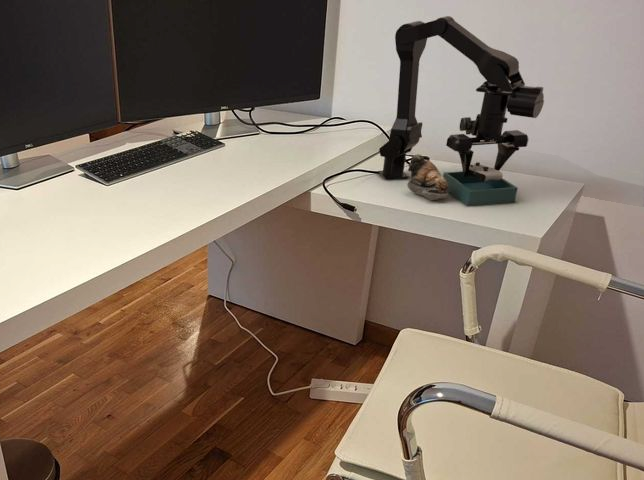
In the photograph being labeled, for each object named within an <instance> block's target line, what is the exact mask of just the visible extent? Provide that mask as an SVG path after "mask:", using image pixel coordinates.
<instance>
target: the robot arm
mask: <svg viewBox="0 0 644 480" xmlns="http://www.w3.org/2000/svg"><path fill="white" fill-rule="evenodd" d="M436 36H437V37H440V38H441V39H443V40H444V41H445V42H446V43H448V44H449V45H450V46H451V47H452V48H454V49H456V51H458V52H459V53H461V54H462V55H463V56H465V58H467V59H469V60H470V61H471V62H472V63H473V64H474V65H475V66H476V68H477V70H478V72H479V74H480V75H481V76H482V77H483V79H485V81H483V83H482V84H481V85H480V86H479V87H476V89H475V91H476V92H478V93H484V94H483V97H482V98H483V99H482V104H481V108H480V113H477V114H476V117H475V119H474V120H472V118H471V116H469V117H467V116H466V117H461V118H460V122H459V131H460V132H465V134H464V133H458V134H457V133H456V134H450V135H449V137H448V138H447V139H446V143H445V146H447V147H448V148H449V149H450V150H453V151H454V152H457V153H458V155H459V158H460V163H461V168H462V171H463V174H464V175H465V176H467V174H468V171H469V168H470V164H472V161H473V156H474V154H475V153H474V150H472V147H473V146H485V145H497V154H496V158H495V163H494V167H493V169H495V170H498V171H500V170H501V169H502V168H503V166H504V165H505V164H506V162H507V161H508V160H510V158H511V157H512V155H514V154H515V152H517V151H519V150H520V148H526V147H528V143H529V136H528V134H527V133H524V132H522V131H521V130H518V129H515V130H514V129H513V130H505V131H503V129H504V128H503V127H504V124H507V123H508V118H507V117H506V114H507V113H509V115H511V116H516V117H517V116H518V117H525V118H532V119H537V118H538V117H539V115H540V114H541V111H542V110H543V107H544V104H545V100H544V87H543V86H529V85H526V83H525V81H524V79H523V77H522V74H521V72H520V65H519V64H520V62H519V60H518V58H516V57H515V56H513V55H511V54H510V53H507V52H505V51H502V50H499V49H496V48H493V47H491V46H489V45H488V44H486V43H485V42H484V41H482V40H481V39H480V38H478V37H477V36H475V34H474V33H471V32H470V31H469V30H468V29H466V28H465V27H464V26H462V25H461V24H459V23H458V21H456V20H455V19H454V18H453V17H452V16H450V15H446V16H441V17H438V18H436V19H435V20H431V21H428V22H423V21H422V20H416V21H412V22H408V23H404V24H402V25H400V26H399V27H398V28H397V30H396V31H395V35H394V40H395V41H394V42H395V51H396V54H397V56H398V58H399V75H398V90H397V105H396V106H397V107H396V118H395V120H394V122H393V124H392V126H391V129H390V131H389V132H390V133H389V137H388V141H387V142H386V143H384V144H383V145H382V146H381V147H379V149H378V152H379V155H380V157H383V166H382V170H378V172H377V173H378V175H380V176H381V177H382V178H383V179H384V180H397V179H408V177H409V176H408V175H407V174H406V173H405V165H406V157H407V154H408V153H410V152H411V151H412V149H413V148H414V147H416V146H417V144H419V142H420V139H421V138H422V137H423V135H422V128H423V122H421V121H420V122H418V120H417V118H416V108H417V96H418V85H419V84H418V83H419V71H420V60H421V57H422V55H423V53H424V51H425V48H426V46H427V41H428V39H429V38H433V37H436ZM502 132H503V133H502ZM469 135H471V136H475V137H470V136H469Z"/></svg>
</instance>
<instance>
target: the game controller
mask: <svg viewBox="0 0 644 480" xmlns="http://www.w3.org/2000/svg"><path fill="white" fill-rule="evenodd" d="M468 175H469V176H472V177H475V178H479V182H485V181H487V180H500V179H502V178H503V177H504V176H503V173H502V172H501V171H500V170H499V171H498V170H495V169H494V167H490V166H487V165H483V164H481V163H480V162H477V161H476V162H475V163H471V164H470V168H469V171H468V174H467V176H468ZM462 176H463V177H467V176H465V175H464V174H463V175H462Z"/></svg>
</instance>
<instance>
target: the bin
mask: <svg viewBox="0 0 644 480" xmlns="http://www.w3.org/2000/svg"><path fill="white" fill-rule="evenodd" d="M462 175H463V170H459V171H448V172H447V171H446V172H445V171H444V172H443V174H442V176H443V177H444V178H445V180H446V181H447V183H448V189H447V190H446V192H448V193H450V194H451V195H452V196H453V197H455V198H456V199H458V200H459V201H460V202H462V203H463V204H464V205H465V206H467V207H472V206H483V205H485V206H486V205H496V204H512V203H515V202H516V198H517V193H518V189H519V187H517V186H516V185H515V184H513V183H512V182H510V181H508V180H506V179H505V178H503V177H502V179H500V180H487V181H485V182H479V178H475V177H472V176H469V175H468V176H467V177H463V176H462Z"/></svg>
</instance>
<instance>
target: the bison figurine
mask: <svg viewBox="0 0 644 480" xmlns="http://www.w3.org/2000/svg"><path fill="white" fill-rule="evenodd" d="M410 157H411V160H410V162H409V164H408V170H407V171H408V172H410V176H411V178H410V180H408V182H407V189H409V190H410V191H411V192H413V193H414V194H416V195H419V196H421V197H424V198H426V199H427V200H430V201H437V200H442V199H446V198H447V197H448V196H449V192H448V191H447V189H448V183H447V181H446V180H445V178H444V177H443V174H441V172H440V171H439V169H438V168H437V166H436V165H435V164H434V163H433V162H432V161H430V160H429V159H428V160H427V159H425V157H424V156H423V155H421V154H412V153H411V154H410Z"/></svg>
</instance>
